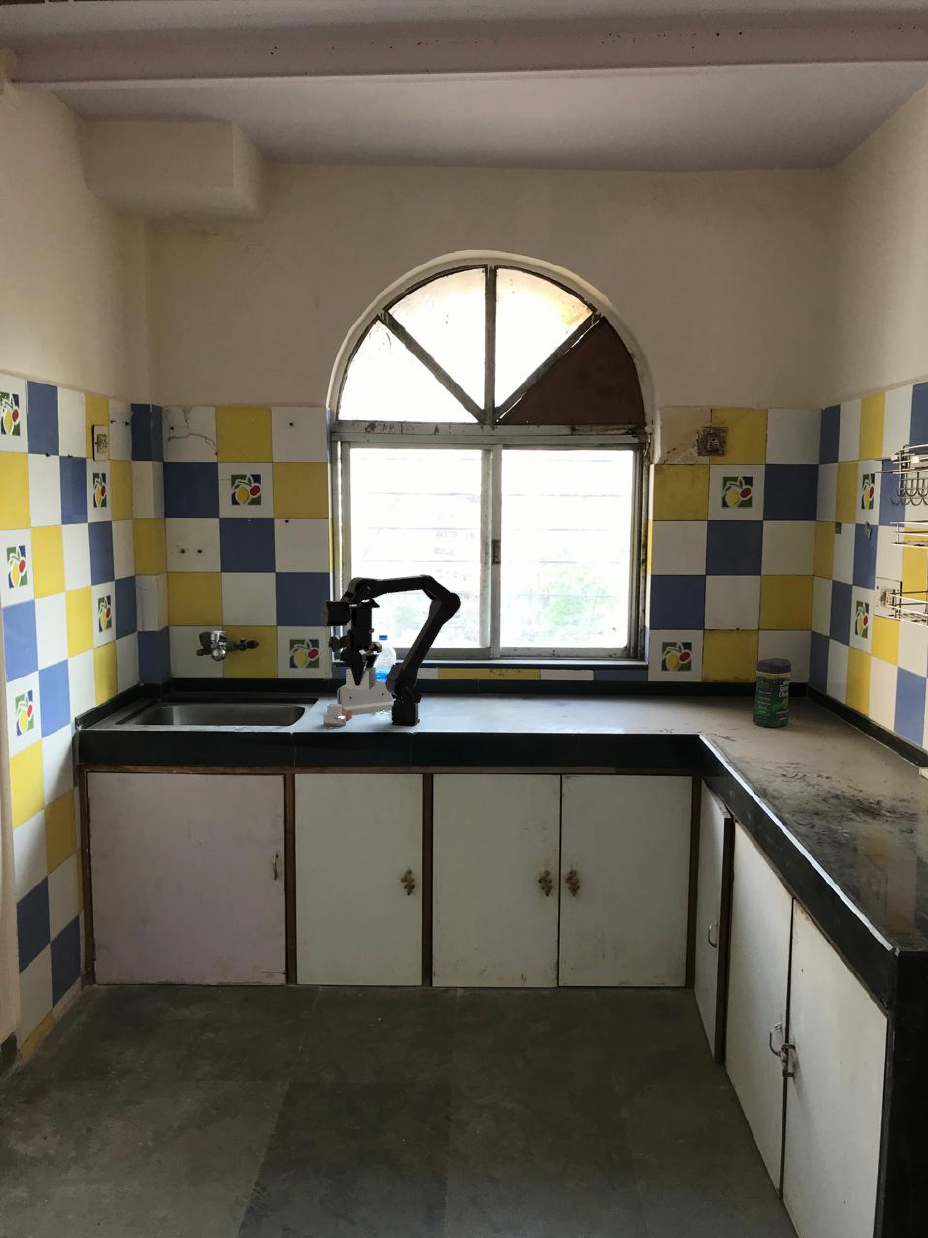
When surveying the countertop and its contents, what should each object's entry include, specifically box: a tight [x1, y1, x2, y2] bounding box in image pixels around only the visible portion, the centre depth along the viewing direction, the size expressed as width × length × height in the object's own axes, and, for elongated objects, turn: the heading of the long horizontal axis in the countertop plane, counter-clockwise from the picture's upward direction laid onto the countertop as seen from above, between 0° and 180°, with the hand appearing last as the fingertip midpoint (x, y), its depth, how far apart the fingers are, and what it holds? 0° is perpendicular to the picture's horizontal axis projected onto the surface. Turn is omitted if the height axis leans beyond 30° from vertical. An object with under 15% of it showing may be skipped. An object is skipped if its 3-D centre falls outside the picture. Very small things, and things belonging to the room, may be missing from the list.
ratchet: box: [322, 703, 353, 728], centre depth 264 cm, size 6×12×6 cm, turn 168°
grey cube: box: [345, 666, 377, 690], centre depth 257 cm, size 6×6×5 cm
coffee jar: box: [752, 657, 792, 728], centre depth 267 cm, size 10×8×19 cm
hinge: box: [336, 679, 394, 716], centre depth 280 cm, size 17×5×10 cm, turn 122°
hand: (361, 683), depth 258 cm, fingers closed on grey cube, 6 cm apart
